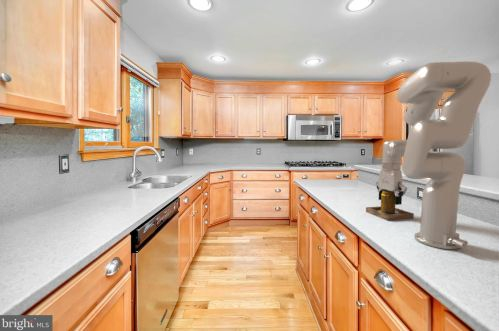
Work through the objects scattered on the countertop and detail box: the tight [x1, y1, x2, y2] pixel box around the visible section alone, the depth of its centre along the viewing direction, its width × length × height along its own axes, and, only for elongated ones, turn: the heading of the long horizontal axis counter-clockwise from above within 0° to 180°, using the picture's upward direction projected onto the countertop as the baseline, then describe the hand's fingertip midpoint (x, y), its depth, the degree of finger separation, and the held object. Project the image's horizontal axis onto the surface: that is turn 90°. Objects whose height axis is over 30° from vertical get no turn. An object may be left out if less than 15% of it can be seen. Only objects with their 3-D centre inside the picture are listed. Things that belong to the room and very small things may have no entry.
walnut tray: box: [365, 205, 415, 221], centre depth 111 cm, size 14×14×2 cm
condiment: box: [379, 189, 399, 215], centre depth 110 cm, size 7×8×12 cm
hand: (389, 202), depth 110 cm, fingers open, 9 cm apart
